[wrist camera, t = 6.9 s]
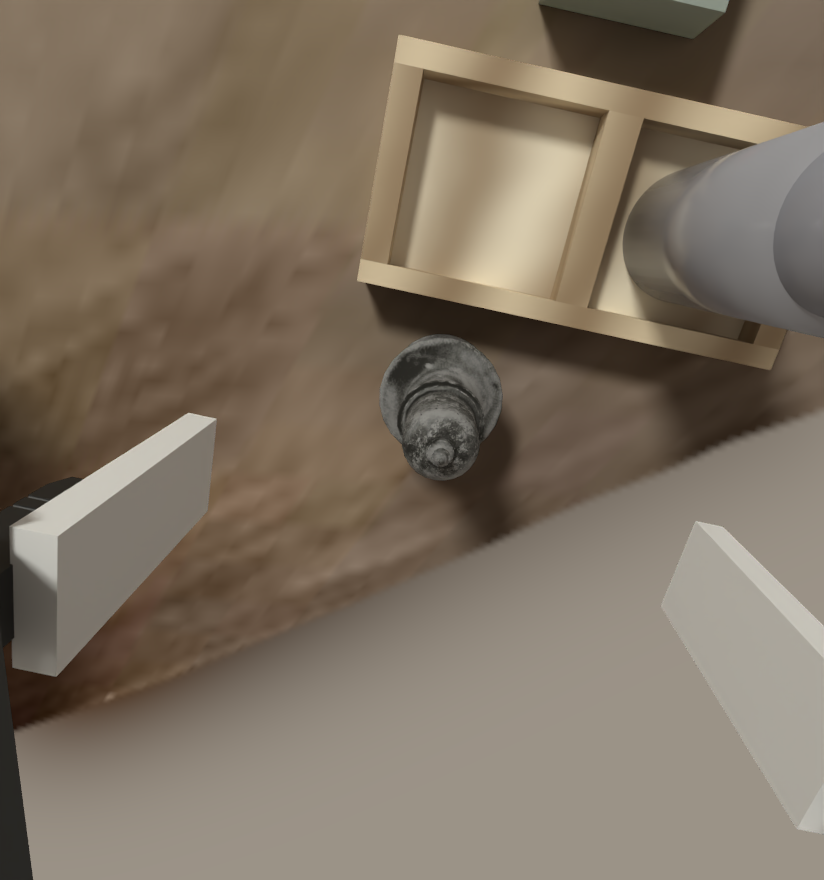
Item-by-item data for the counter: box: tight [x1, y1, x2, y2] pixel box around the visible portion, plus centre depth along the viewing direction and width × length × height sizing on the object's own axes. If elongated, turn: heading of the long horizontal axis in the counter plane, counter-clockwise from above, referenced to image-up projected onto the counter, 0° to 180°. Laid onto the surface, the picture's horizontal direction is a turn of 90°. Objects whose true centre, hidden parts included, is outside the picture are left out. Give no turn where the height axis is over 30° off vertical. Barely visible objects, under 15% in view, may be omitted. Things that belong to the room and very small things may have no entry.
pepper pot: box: [622, 122, 824, 338], centre depth 20 cm, size 6×6×14 cm
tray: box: [357, 35, 807, 370], centre depth 27 cm, size 20×10×2 cm, turn 78°
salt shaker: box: [380, 334, 503, 481], centre depth 25 cm, size 6×6×12 cm
